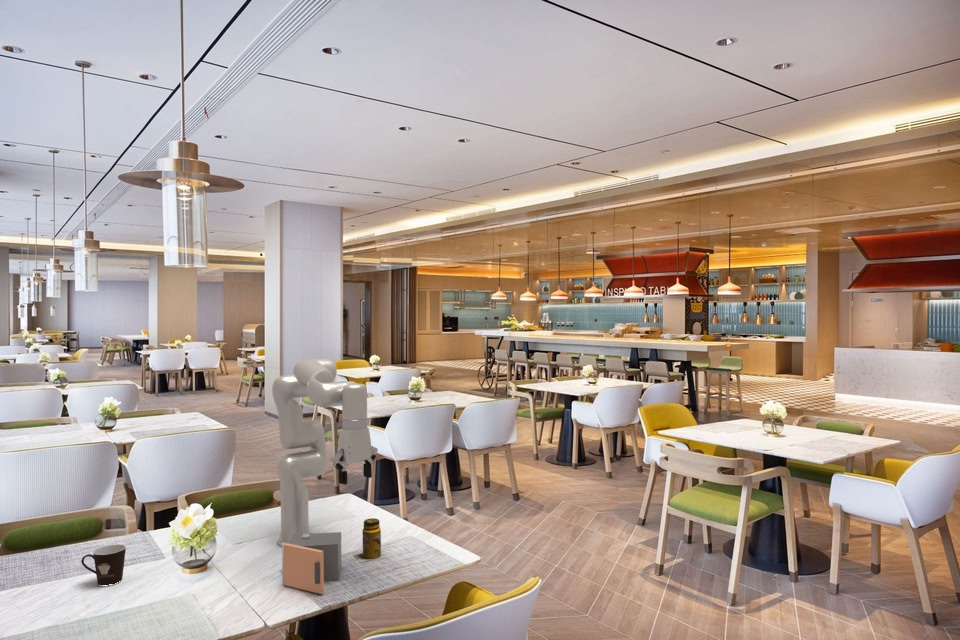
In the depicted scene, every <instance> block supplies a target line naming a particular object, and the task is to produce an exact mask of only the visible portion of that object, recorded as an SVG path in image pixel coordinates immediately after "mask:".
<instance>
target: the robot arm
mask: <svg viewBox="0 0 960 640" xmlns="http://www.w3.org/2000/svg"><path fill="white" fill-rule="evenodd" d="M292 369H293V371H292V372H293V373H292V374H284V375H280V376H278V377H277V378H275V379H274V381H273V382H272V383H273V384H272V388H271V391H272V398H273V402H274V404H275V408H276V410H277V416H278V417H277V419H278V430H279V441H280V445H281V447H282V448H283V449H285V450H296V449H303V448H309V450H304V451H298V452H290V453H287V454H284V455H283V456H281V457H280V458H278V462H277V467H276V469H277V473H278V477H279V478H278V479H279V488H280V533H281V534H280V536H278V537H277V538H276V544H277V546H280V547H282V543H288V544H289V542H290V540H291V538H292V536H293V535H298V534H311V533H310V532H309V531H310V529H309V527H310V526H309V523H310V521H309V520H310V519H309V514H310V513H309V512H310V511H309V490H308V487H307V486H306V484H304V483H303V482H302V480H304V479H308V478H314V477H317V476H321V475H324V474H325V473H326V472H327V469H328V455H327V443H326V432H325V429H324V426H323V424H322V423H321V422H320V421H319V420H316V419H313V420H312V419H309V420H304V415H303V407H302V406H301V404H299V402H298V401H297V400H296V399H298V398H308V400H309V401H310V402H312V403H313V404H314V405H315V406H318V407H320V408H332V407H341V413H342V414H341V420H342V423H341V424H342V425H341V426H342V428H341V429H340V430H339V433H338V439H337V440H338V441H337V452H336V453H335V454H334V455H333V456H332V457H331V460H330V461H331V462H332V464H333V467H334V468H335V469H336V471H338V483H339V484H342V485H348V470H347V469H348V466H349V465H350V464H354V463H355V464H356V463H359V462H364V463H363V468H362V469H363V472H362V473H363V477H364V478H368V479H370V478H372V477H373V472H372V471H373V466H372V465H373V464H374V461H375V460H376V458H377V457H376V455H377V453H378V451H379V449H378V447H376V446H373V445H372V441H371V434H370V433H371V432H370V429H369V427H368V424H369V422H370V419H369V418H368V388H367V386H366V385H365V384H364V383H357V382H356V381H351V380H350V381H349V380H348V381H347V380H346V381H335V382H334V380H336V377H337V375H338V374H337V373H338V372H337V365H336V364H335V362H334V361H333V360H332V359H330V358H325V357H323V358H307V359H302V360H299V361H298V362H296V364H295V365H294V366H293V368H292Z"/></svg>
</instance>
